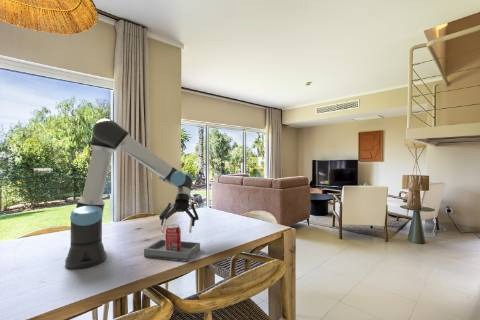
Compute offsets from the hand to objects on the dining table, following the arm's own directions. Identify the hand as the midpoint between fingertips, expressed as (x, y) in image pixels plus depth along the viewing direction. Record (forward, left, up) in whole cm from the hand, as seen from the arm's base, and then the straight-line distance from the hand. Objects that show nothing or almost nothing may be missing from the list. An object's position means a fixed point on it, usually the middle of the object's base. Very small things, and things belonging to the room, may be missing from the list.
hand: (176, 231), depth 120 cm
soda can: (0, -4, -8) cm, 9 cm away
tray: (0, -4, -9) cm, 10 cm away
